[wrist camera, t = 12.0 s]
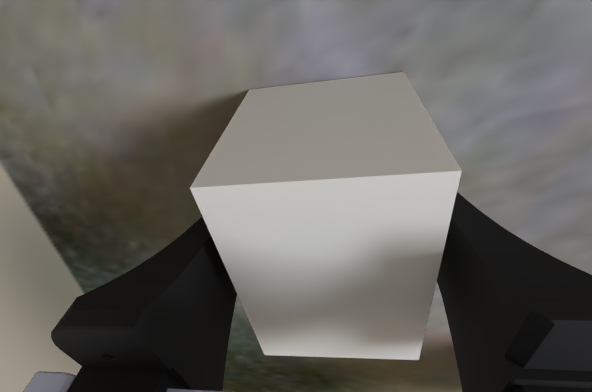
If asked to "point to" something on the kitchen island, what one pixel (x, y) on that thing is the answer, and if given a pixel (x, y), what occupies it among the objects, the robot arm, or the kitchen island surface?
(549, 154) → the kitchen island surface
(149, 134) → the kitchen island surface
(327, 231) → the white rectangular prism
